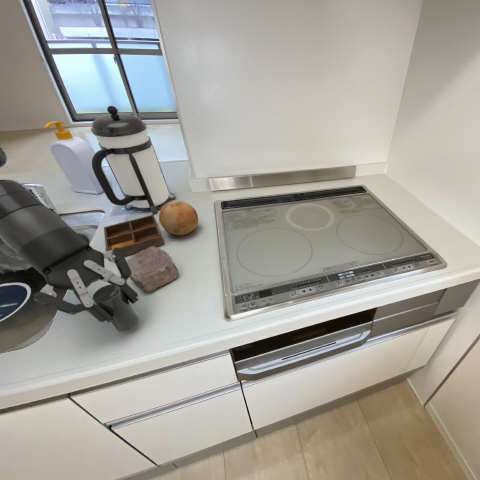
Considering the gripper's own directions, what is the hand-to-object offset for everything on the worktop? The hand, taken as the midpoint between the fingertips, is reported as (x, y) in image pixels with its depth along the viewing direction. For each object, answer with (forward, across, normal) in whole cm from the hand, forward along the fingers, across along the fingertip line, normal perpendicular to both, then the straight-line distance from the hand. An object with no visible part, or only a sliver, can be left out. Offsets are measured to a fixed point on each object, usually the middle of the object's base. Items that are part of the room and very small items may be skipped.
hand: (123, 310), depth 47 cm
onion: (-8, +28, +17) cm, 34 cm away
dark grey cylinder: (+2, 0, +5) cm, 5 cm away
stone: (-2, +12, +12) cm, 17 cm away
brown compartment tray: (-13, +19, +23) cm, 32 cm away
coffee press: (-22, +33, +32) cm, 50 cm away
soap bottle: (-40, +30, +50) cm, 71 cm away
